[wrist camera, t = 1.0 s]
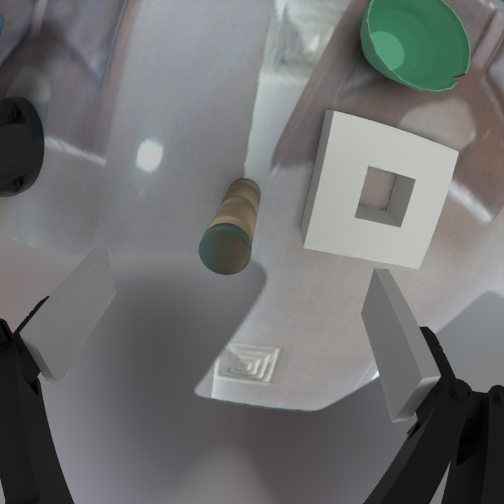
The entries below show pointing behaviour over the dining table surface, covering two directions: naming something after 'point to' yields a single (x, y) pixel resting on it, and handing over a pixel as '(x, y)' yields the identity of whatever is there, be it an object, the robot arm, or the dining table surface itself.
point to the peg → (232, 230)
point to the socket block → (351, 183)
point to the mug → (416, 43)
